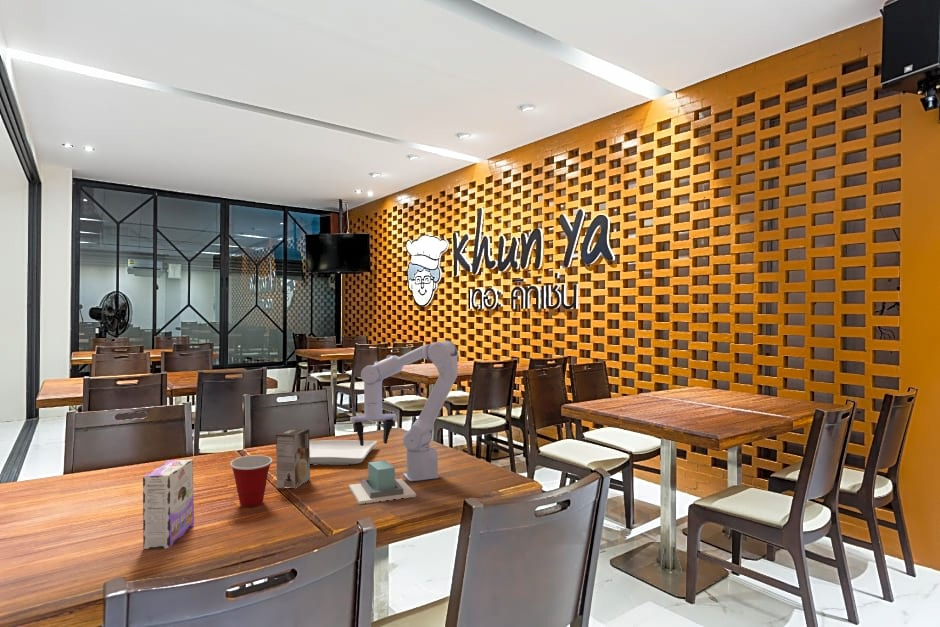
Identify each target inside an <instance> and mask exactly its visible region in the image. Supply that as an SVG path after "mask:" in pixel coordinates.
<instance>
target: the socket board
mask: <svg viewBox="0 0 940 627" xmlns="http://www.w3.org/2000/svg"><path fill="white" fill-rule="evenodd" d="M348 488H349V489H350V492H351V493H352V495H353V496H354V498H355V500H356V502H357V503H358V505H364V504H365V503H366V504H371V503H372V504H373V502H374V503H379V501H381V502H387V501H386V500H389V501H394V500H393V499H396V500H402V499H401V498H404V499H411V498H416V497H417V493H416V492H415V491H414V490H413V489H412V488H411V487H410V486H409V485H408V484H407V483H406V482H405V481H404V479H403V478H395V489H387V490H379V491H373V490H372V488H371V487H370V486H369V478H363V479H361V480H360V483H354V484H353V483H352V484H348ZM410 497H411V498H410ZM366 504H365V505H366Z"/></svg>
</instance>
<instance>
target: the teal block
mask: <svg viewBox="0 0 940 627" xmlns="http://www.w3.org/2000/svg"><path fill="white" fill-rule="evenodd" d="M367 465H368V466H367V468H368V469H367V470H368V473H367V474H368V479H369V486H370V487H371V488H372V490H373V491H379V490H387V489H395V479H396V474H395V473H396V472H395V471H396V470H395V468H396V467H395V466H393V465H392V464H390V462H388V461H386V460H385V459H384V460H377V461H369V462H368V464H367Z"/></svg>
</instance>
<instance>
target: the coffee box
mask: <svg viewBox="0 0 940 627" xmlns="http://www.w3.org/2000/svg"><path fill="white" fill-rule="evenodd" d="M275 438H276V439H275V443H276V444H275V445H276V446H275V449H276V451H275V452H276V454H275V455H276V463H275V464H276V488H277V489H283V488H282V487H290V488H296V487H298V486H300V485H301V484H303V483H304V484H306V483H308V482H309V481H311V465H310V449H309V441H310V429H309V428H290V429H288V430H285V431H282V432H279V433H278V434H276V435H275ZM308 480H309V481H308ZM307 481H308V482H307ZM305 482H306V483H305ZM304 484H303V485H304ZM301 486H302V485H301ZM301 486H300V487H301ZM298 488H299V487H298ZM296 489H297V488H296Z"/></svg>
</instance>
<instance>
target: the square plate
mask: <svg viewBox="0 0 940 627" xmlns="http://www.w3.org/2000/svg"><path fill="white" fill-rule="evenodd" d="M363 442H364V445H363V446H361V445H360V440H359V439H357V440H356V439H355V440H351V439H350V440H349V439H327V440H326V439H325V440H309V449H310V464H321V465H320V466H326V465H325V464H330V465H329V466H350V465H349V464H351V465H356V464H361V463H362V462H363V461H364V460H365V459H366V457H367V456H368V454H369V453H370V452H371V451H373V449H374V448H375V447H376V445H378V444H377V443H378V440H363ZM322 464H324V465H322Z"/></svg>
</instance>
